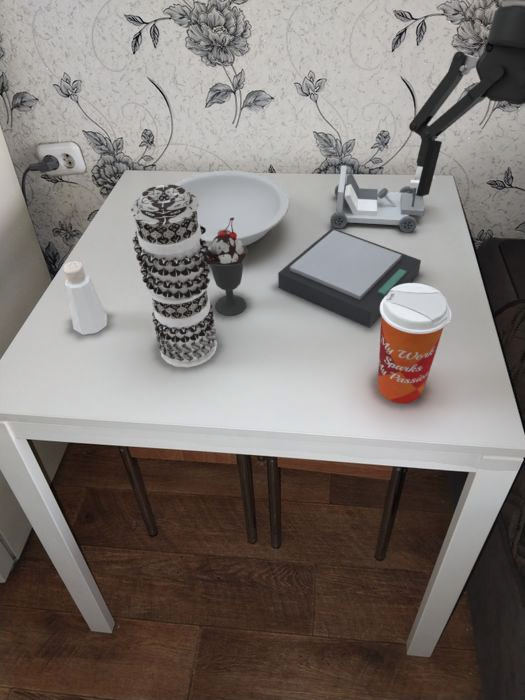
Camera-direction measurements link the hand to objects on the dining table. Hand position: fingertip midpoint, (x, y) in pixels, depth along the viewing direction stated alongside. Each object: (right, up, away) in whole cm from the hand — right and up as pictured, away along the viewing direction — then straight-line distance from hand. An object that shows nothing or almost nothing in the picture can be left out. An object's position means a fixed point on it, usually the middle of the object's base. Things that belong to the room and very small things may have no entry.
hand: (474, 207), depth 72 cm
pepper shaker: (-53, -13, +20) cm, 58 cm away
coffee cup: (-7, -23, +8) cm, 25 cm away
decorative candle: (-37, -17, +15) cm, 43 cm away
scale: (-12, -6, +25) cm, 28 cm away
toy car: (-4, +8, +39) cm, 40 cm away
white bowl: (-33, +4, +36) cm, 49 cm away
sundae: (-31, -10, +22) cm, 39 cm away
